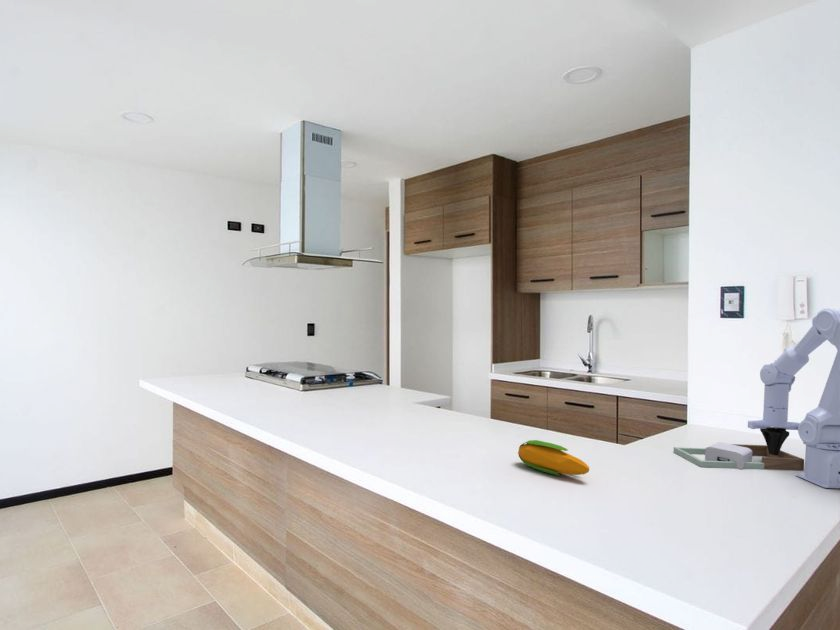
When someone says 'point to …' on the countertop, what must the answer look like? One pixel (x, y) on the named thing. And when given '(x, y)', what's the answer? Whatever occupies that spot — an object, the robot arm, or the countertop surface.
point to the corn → (551, 458)
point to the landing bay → (716, 464)
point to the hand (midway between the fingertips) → (773, 454)
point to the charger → (728, 454)
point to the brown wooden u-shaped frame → (776, 458)
